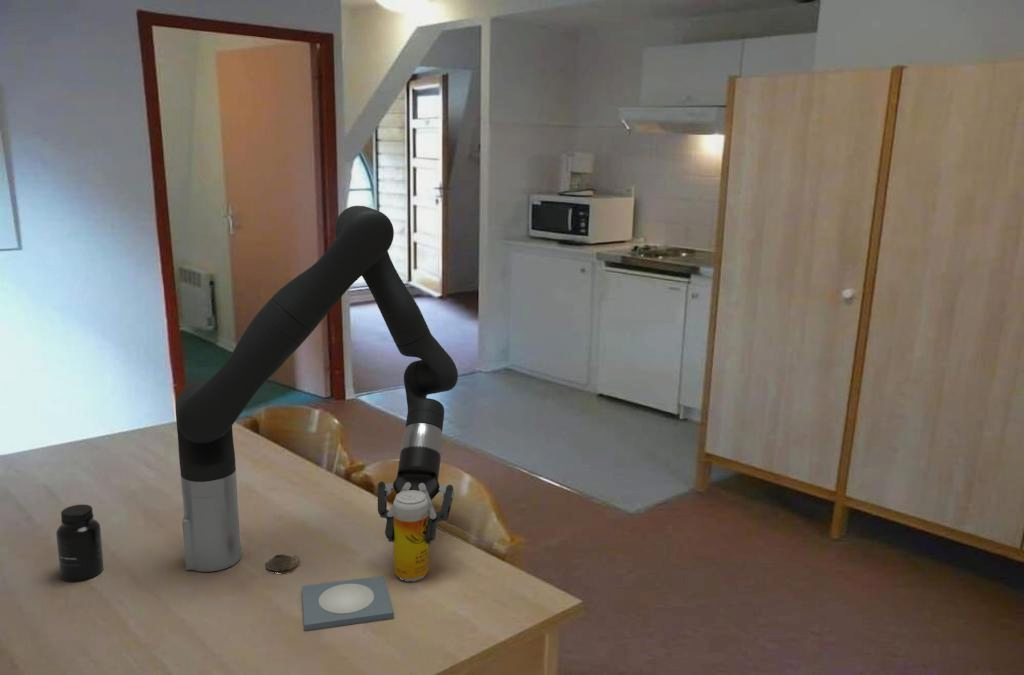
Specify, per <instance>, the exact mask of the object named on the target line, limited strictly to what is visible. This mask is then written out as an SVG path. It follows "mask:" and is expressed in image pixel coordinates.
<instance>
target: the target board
mask: <svg viewBox="0 0 1024 675" xmlns="http://www.w3.org/2000/svg"><path fill="white" fill-rule="evenodd" d="M301 596H302V597H301V598H302V612H303V613H302V614H303V626H304V629H303V630H304V631H305V632H307V631H313V630H318V629H327V628H333V627H341V626H348V625H354V624H364V623H369V622H376V621H384V620H391V619H395V616H394V614H395V612H394V609H393V605H392V604H393V603H392V601H391V597H390V593H389V589H388V586H387V582H386V578H385V575H379V576H370V577H363V578H362V577H361V578H354V579H346V580H339V581H331V582H321V583H315V584H308V585H302V586H301ZM383 619H384V620H383Z"/></svg>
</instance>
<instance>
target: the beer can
mask: <svg viewBox="0 0 1024 675" xmlns="http://www.w3.org/2000/svg"><path fill="white" fill-rule="evenodd" d="M392 505H393V518H394V542H393V562H394V563H393V568H394V569H393V570H394V571H393V572H394V574H395V576H397V578H398V577H399V578H401V579H403V580H406V581H405V582H409V581H412V582H417V580H418V581H420V580H422V579H424V578H425V577H426V575H427V574H428V573H429V570H430V569H429V562H430V561H429V558H430V556H429V552H430V551H429V544H427V543H426V532H427V524H428V520H429V514H428V500H427V498H426V495H425V494H424V493H423V492H421V491H416V490H408V491H403V492H400V493H398V494H397V493H396V495H395V498H394V500H393V503H392ZM399 578H398V579H399ZM401 579H400V580H401ZM403 580H402V581H403Z"/></svg>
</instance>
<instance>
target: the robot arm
mask: <svg viewBox="0 0 1024 675" xmlns="http://www.w3.org/2000/svg"><path fill="white" fill-rule="evenodd" d="M394 234H395V231H394V226H393V222H392V221H391V220H390V218H389V217H388V216H387V215H386V214H385V213H384V212H381V211H380V210H377V209H374V208H372V207H368V206H364V205H353V206H349V207H347V208H345V209H343V211H341V212H340V214H339V215H338V217H337V218H336V221H335V226H334V235H335V240H334V241H333V242H332V243H331V245H329V248H328V249H327V250H326V251H325V252H324V253H323V255H322V256H321V257H320V258H319V259H318V260H317V261H316V262H315V263H314V264H312V266H310V267H308V268H307V269H306V270H304V271H303V272H301V273H299V274H298V275H297V276H296V277H294V278H292V279H290V281H289V282H287V283H285V285H283V286H282V287H281V288H280V289H279V290H277V292H276V293H274V295H272V297H271V298H269V299H268V301H267V302H266V303H265V304H264V306H263V307H261V308H260V310H259V311H258V312H257V313H256V314H255V316H254V317H253V318H252V320H251V321H250V322H249V324H248V325H247V327H246V329H245V330H244V332H243V333H242V335H241V337H240V339H239V341H238V342H237V344H236V346H235V348H234V349H233V351H232V353H231V354H230V356H229V357H228V359H227V360H226V362H225V363H224V364H223V365H222V366H221V367H220V368H219V370H218V371H217V372H216V373H215V374H214V375H213V376H212V377H210V379H209V380H200V381H195V382H192V383H190V384H189V385H187V386H185V387H184V388H183V389H182V391H181V392H180V393H179V395H178V396H177V398H176V401H175V420H176V421H175V422H176V430H177V444H178V445H177V446H178V459H179V469H180V481H181V482H180V483H181V493H182V494H181V496H182V504H183V505H182V507H183V508H182V509H183V517H182V518H183V519H182V532H183V533H182V534H183V545H184V546H183V548H184V557H185V558H184V559H185V570H186V571H196V572H202V573H203V572H204V573H206V572H207V573H209V572H216V571H217V572H218V571H222V570H225V569H228V568H230V567H233V566H234V565H235V564H237V563H238V562H240V559H241V557H242V546H241V544H242V543H241V536H240V535H241V534H240V532H241V531H240V518H239V517H240V516H239V513H240V512H239V499H238V496H239V495H238V483H237V469H236V468H237V467H236V466H237V465H236V453H235V452H236V451H235V444H234V435H233V434H234V433H233V425H234V424H235V422H236V420H237V419H238V418H239V417H240V415H241V413H243V411H244V410H245V408H246V406H248V404H249V403H250V401H251V400H252V398H253V397H254V396H255V394H256V393H257V392H258V391H259V389H260V388H261V387H262V386H263V385H264V384H265V383H266V382H267V381H268V379H270V378H271V377H272V376H273V375H274V374H275V373H276V372H277V371H278V370H279V369H280V368H281V367H282V365H283V364H284V363H285V362H286V361H287V360H289V358H290V357H291V356H292V355H293V354H294V353H295V351H296V350H297V349H298V348H300V347H301V345H303V343H304V342H305V341H306V340H307V338H309V336H310V335H311V334H312V332H313V331H315V329H316V328H317V326H319V325H320V323H321V322H322V321H323V320H324V318H325V317H326V316H327V315H328V314H329V313H330V311H331V310H332V309H333V308H334V307H335V305H336V304H337V303H338V302H339V301H340V299H341V298H342V297H343V296H344V294H345V293H346V292H347V290H349V289H350V288H351V286H352V285H354V284H355V282H356V281H357V280H359V278H361V277H362V279H363V281H364V282H365V284H366V286H367V288H368V289H369V291H370V293H371V295H372V297H373V299H374V301H375V303H376V305H377V307H378V310H379V312H380V314H381V316H382V319H383V321H384V322H385V323H384V324H385V325H386V327H387V329H388V332H389V333H390V335H391V337H392V339H393V342H394V344H395V347H396V348H397V349H398V352H399V354H401V355H402V356H404V357H410V358H417V359H419V360H414V361H412V362H410V363H409V364H408V365H407V366H406V367H405V369H404V372H403V373H404V374H403V384H404V390H405V396H406V404H407V415H406V419H405V420H406V421H405V428H404V432H403V435H402V440H401V446H400V454H399V461H398V468H397V475H396V478H395V480H394V481H393V482H390V483H385V482H384V481H379V483H378V484H377V512H378V515H379V516H380V518H383V519H386V523H385V528H384V534H385V537H386V539H387V540H388V542H391V543H394V518H393V504H392V505H391V507H390V508H389V509H387V508H388V507H387V505H388V497H389V496H390V495H391V492H392V491H394V492H395V494H396V495H397V494H398V493H400V492H403V491H408V490H416V491H421V492H423V493H424V494H425V495H426V498H427V500H428V524H427V532H426V543H427V544H428V545H431V544H432V542H434V541H435V540H436V534H437V526H438V523H439V522H443V521H444V522H446V521H447V520H449V516H450V512H451V508H452V503H453V500H454V495H455V490H454V486H453V485H452V484H447V486H446V485H442V484H440V483H439V478H440V477H439V475H440V466H441V458H442V455H443V430H444V429H443V428H444V420H445V407H444V405H443V404H442V402H440V401H439V400H436V399H434V398H428V397H427V396H428V395H435V394H439V393H440V394H441V393H445V392H448V391H451V390H453V389H454V388H455V387H456V385H457V383H458V378H459V374H458V373H459V372H458V368H457V366H456V364H455V362H454V360H453V358H452V357H451V356H450V355H449V353H448V352H447V351H446V350H445V349H444V347H442V345H441V344H440V343H439V341H438V340H437V339H436V338H435V337H434V335H433V334H432V333H431V331H430V328H429V326H428V324H427V322H426V320H425V317H424V316H423V315H424V314H423V313H422V312H421V309H420V307H419V306H418V304H417V302H416V300H415V298H414V296H413V295H412V294H411V293H410V291H409V289H408V288H407V286H406V285H405V283H404V281H403V280H402V278H401V276H400V275H399V273H398V270H396V267H395V265H394V264H393V263H394V262H393V261H392V259H391V257H390V254H389V250H390V248H391V246H392V244H393V241H394ZM439 492H440V493H441V494H440V496H441V498H442V499H443V500H442V503H441V504H442V505H441V508H440V511H438V512H436V511H435V508H434V505H433V503H432V500H433V499H434V498H435V497H436V496H437V495H438V493H439Z"/></svg>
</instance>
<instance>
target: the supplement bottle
mask: <svg viewBox="0 0 1024 675" xmlns="http://www.w3.org/2000/svg"><path fill="white" fill-rule="evenodd" d="M93 511H94V510H93V507H92V506H91V505H90V504H75V505H74V504H73V505H70V506H68V507H65V508H64V509H63V510H62V511H61V512H60V516H61V520H60V521H61V524H60V526H58V527H57V530H56V534H55V535H56V545H57V557H58V567H59V574H60V577H61V578H62V579H63V580H64V581H68V582H81V581H86V580H90V579H92V578H94V577H96V576H98V575H100V574H101V573H102V571H103V570H104V554H103V544H102V542H103V541H102V529H101V524H100V522H99V521H98V520H96V519H94V512H93Z"/></svg>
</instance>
